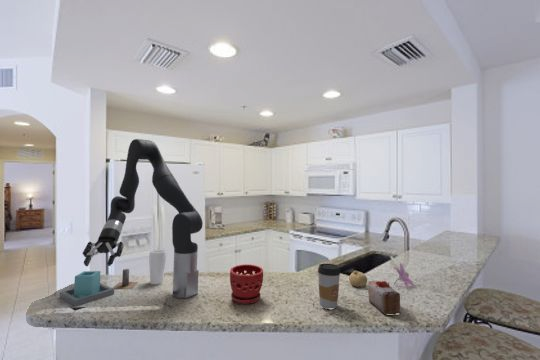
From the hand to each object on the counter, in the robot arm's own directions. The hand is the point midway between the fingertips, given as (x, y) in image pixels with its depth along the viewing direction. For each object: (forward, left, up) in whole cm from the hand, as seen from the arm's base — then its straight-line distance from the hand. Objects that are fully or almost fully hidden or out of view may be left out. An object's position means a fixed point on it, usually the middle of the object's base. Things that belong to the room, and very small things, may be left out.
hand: (97, 265), depth 107 cm
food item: (-100, -54, -11) cm, 114 cm away
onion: (-86, -72, -11) cm, 113 cm away
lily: (-104, -83, -11) cm, 134 cm away
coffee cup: (-82, -43, -11) cm, 94 cm away
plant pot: (-53, -30, -11) cm, 62 cm away
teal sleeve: (-4, +5, -10) cm, 12 cm away
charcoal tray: (-4, +5, -11) cm, 13 cm away
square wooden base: (-5, -9, -11) cm, 15 cm away
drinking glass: (-12, -19, -11) cm, 25 cm away
